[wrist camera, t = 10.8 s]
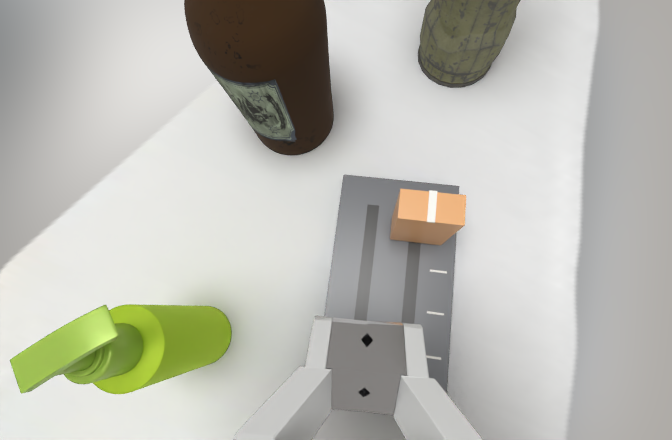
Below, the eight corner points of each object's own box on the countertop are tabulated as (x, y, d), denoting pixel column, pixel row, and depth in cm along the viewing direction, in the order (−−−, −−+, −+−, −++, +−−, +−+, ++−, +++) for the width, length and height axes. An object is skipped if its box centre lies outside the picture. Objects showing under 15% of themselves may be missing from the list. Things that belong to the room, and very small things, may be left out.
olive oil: (277, 67, 45) (176, -217, 21) (354, 99, 43) (342, -172, 19) (233, 138, 43) (65, -81, 19) (312, 175, 41) (238, -16, 17)
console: (440, 412, 34) (449, 424, 31) (316, 392, 36) (310, 401, 32) (454, 192, 39) (463, 180, 36) (344, 181, 41) (342, 168, 37)
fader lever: (440, 245, 36) (464, 225, 27) (389, 239, 36) (397, 218, 28) (442, 221, 36) (466, 194, 28) (392, 215, 37) (400, 187, 28)
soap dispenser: (250, 339, 37) (127, 372, 18) (191, 376, 37) (0, 451, 18) (224, 290, 39) (85, 271, 19) (167, 325, 38) (-34, 342, 19)
